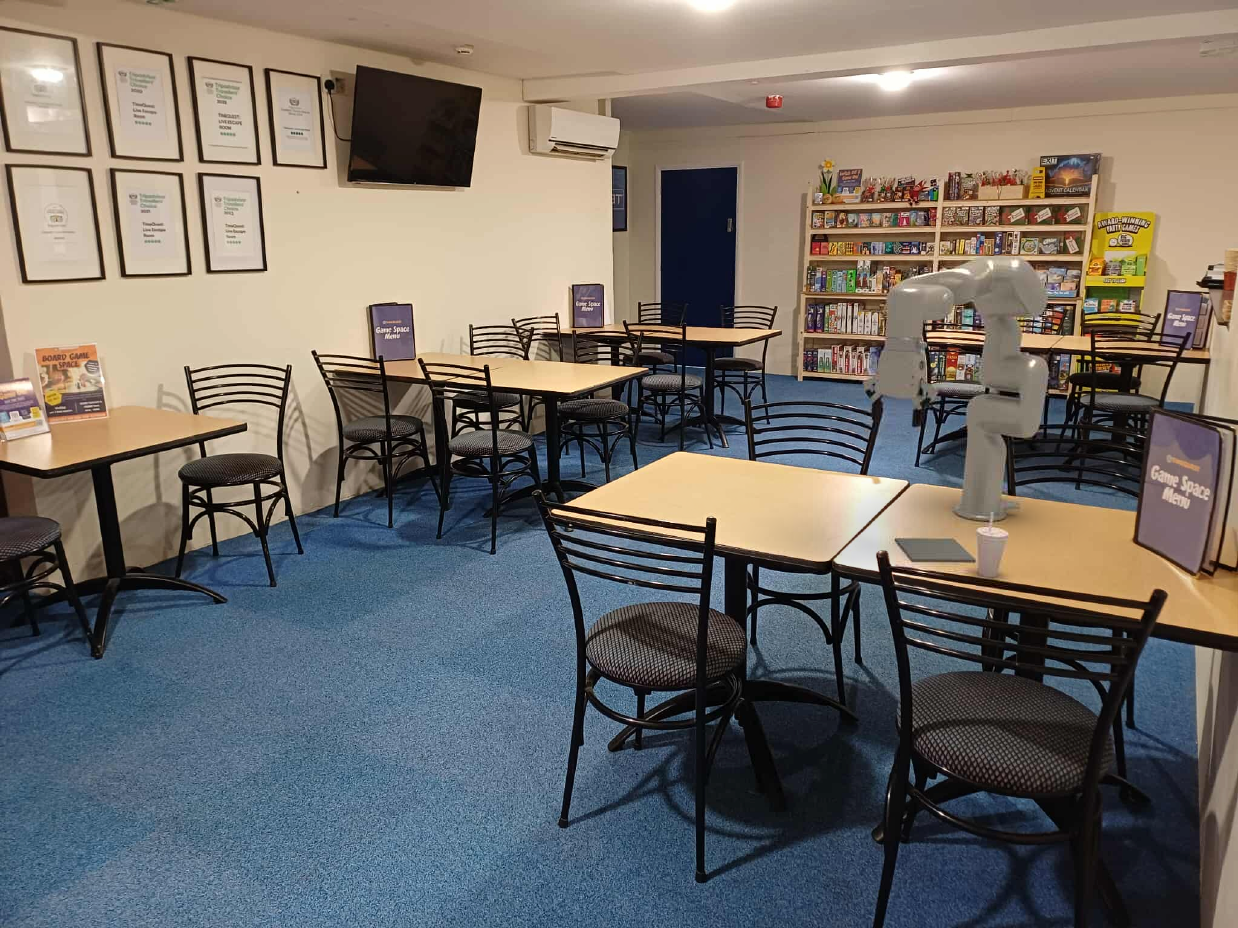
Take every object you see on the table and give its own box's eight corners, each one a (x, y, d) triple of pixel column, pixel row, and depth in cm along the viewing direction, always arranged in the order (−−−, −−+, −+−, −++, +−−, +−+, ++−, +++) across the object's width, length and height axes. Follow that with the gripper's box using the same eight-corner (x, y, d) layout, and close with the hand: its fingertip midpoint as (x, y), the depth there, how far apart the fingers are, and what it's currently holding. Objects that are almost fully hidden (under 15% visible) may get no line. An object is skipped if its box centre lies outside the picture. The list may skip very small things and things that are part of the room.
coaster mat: (953, 540, 206) (953, 538, 206) (975, 562, 193) (975, 559, 193) (894, 540, 207) (894, 538, 207) (912, 561, 193) (912, 559, 193)
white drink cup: (966, 568, 189) (972, 508, 185) (994, 568, 190) (1001, 507, 186) (980, 580, 183) (987, 517, 179) (1009, 579, 183) (1017, 516, 180)
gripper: (949, 347, 182) (941, 426, 187) (876, 340, 195) (870, 415, 199) (932, 350, 177) (924, 431, 182) (858, 343, 190) (852, 419, 194)
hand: (896, 423), depth 190 cm, fingers open, 9 cm apart
